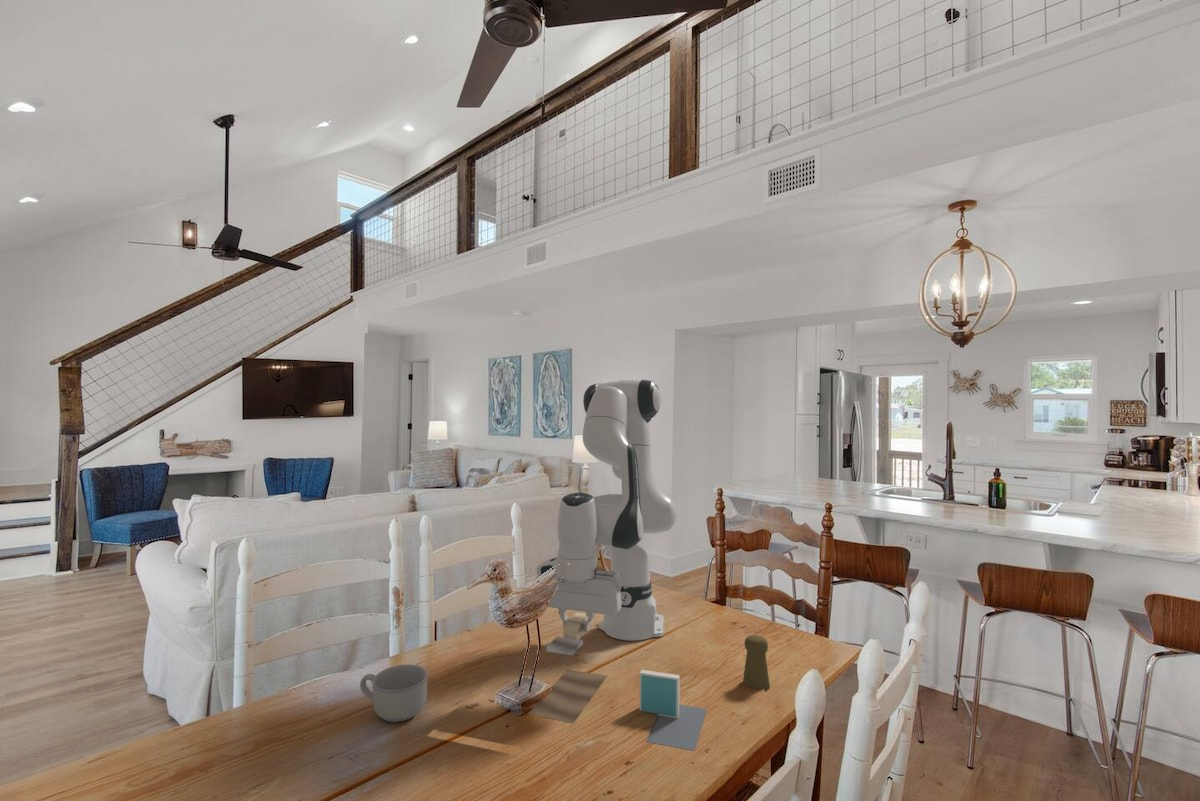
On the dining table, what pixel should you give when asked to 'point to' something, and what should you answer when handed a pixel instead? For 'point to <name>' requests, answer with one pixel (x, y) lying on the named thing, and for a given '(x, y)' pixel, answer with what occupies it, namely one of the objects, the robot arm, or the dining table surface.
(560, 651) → the beige upright plank
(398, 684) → the teacup
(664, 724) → the mat
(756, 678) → the olive green pawn
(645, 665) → the dining table surface
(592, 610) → the robot arm
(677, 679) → the tile
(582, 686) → the board
